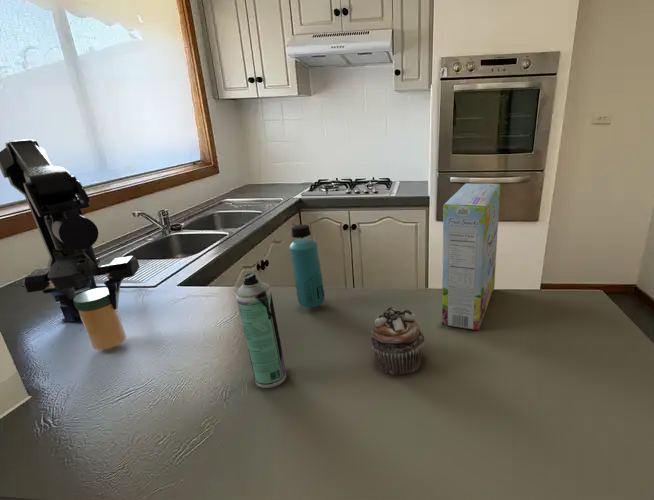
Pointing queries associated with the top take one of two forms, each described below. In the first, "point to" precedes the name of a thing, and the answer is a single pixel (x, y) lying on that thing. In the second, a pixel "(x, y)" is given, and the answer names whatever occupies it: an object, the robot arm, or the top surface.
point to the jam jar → (103, 327)
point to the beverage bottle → (306, 268)
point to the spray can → (261, 332)
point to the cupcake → (397, 342)
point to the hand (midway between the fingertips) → (97, 311)
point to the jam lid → (92, 299)
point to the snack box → (469, 254)
